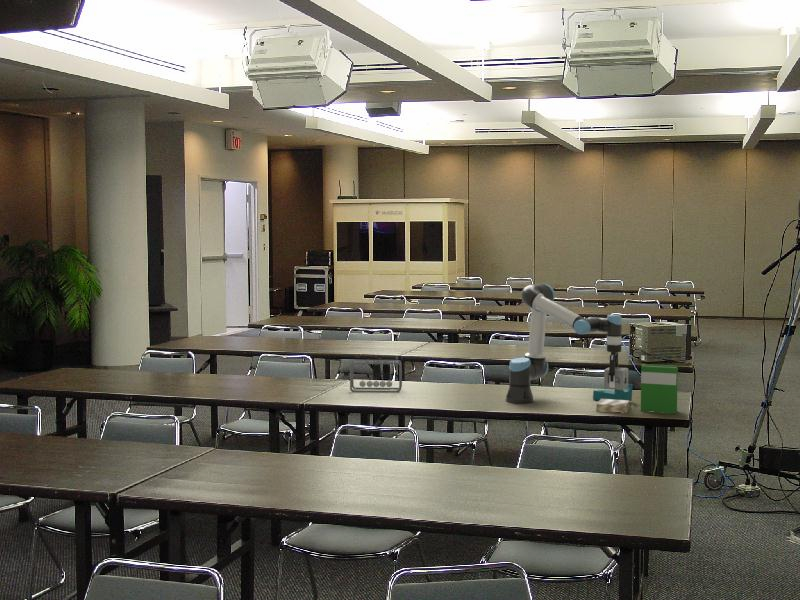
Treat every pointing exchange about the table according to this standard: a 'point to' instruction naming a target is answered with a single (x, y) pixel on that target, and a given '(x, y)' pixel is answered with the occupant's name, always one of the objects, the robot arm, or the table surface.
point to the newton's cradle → (376, 383)
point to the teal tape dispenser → (614, 394)
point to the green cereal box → (659, 388)
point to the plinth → (613, 405)
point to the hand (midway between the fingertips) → (613, 385)
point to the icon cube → (617, 378)
